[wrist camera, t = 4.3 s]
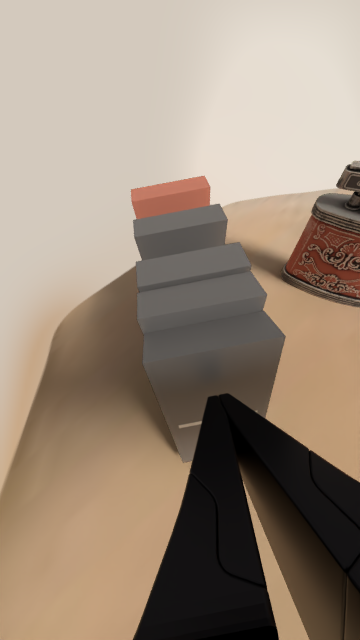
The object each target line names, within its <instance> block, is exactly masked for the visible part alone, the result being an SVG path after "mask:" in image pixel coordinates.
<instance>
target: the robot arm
mask: <svg viewBox="0 0 360 640" xmlns="http://www.w3.org/2000/svg"><path fill="white" fill-rule="evenodd" d="M242 479H243V480H242ZM243 481H244V484H245V486H246V489H247V491H248V493H249V496H250V498H251V501H252V503H253V505H254V508H255V510H256V512H257V515H258V517H259V520H260V522H261V524H262V527H263V529H264V532H265V534H266V536H267V539H268V541H269V544H270V546H271V548H272V551H273V553H274V556H275V558H276V560H277V563H278V565H279V568H280V570H281V572H282V575H283V577H284V580H285V582H286V584H287V587H288V589H289V591H290V594H291V596H292V599H293V601H294V603H295V606H296V608H297V611H298V613H299V615H300V618H301V620H302V623H303V625H304V627H305V630H306V632H307V635H308V637H309V639H310V640H360V482H358V481H357V480H355V479H353V478H352V477H350V476H349V475H347V474H346V473H344V472H342V471H341V470H339V469H338V468H336V467H335V466H333V465H332V464H330V463H329V462H327V461H326V460H324V459H323V458H322V457H320V456H319V455H317V454H316V453H314V452H313V451H311V450H310V451H309V449H308V448H307V447H306V446H304V445H303V444H301V443H300V442H298V441H297V440H295V439H294V438H293V437H291V436H290V435H288V434H287V433H285V432H284V431H283V430H281V429H280V428H278V427H277V426H275V425H274V424H272V423H271V422H270V421H268V420H267V419H265V418H264V417H262V416H261V415H259V414H258V413H257V412H255V411H254V410H252V409H251V408H249V407H248V406H247V405H245V404H244V403H242V402H241V401H239V400H238V399H236V398H235V397H234V396H232V395H231V394H229V393H224V394H220V395H219V396H217V395H214V396H209V397H208V398H207V402H206V406H205V410H204V414H203V418H202V423H201V427H200V431H199V435H198V439H197V444H196V448H195V452H194V456H193V460H192V464H191V469H190V474H189V476H188V481H187V485H186V489H185V492H184V496H183V500H182V503H181V507H180V510H179V513H178V516H177V519H176V522H175V525H174V529H173V532H172V535H171V537H170V540H169V543H168V546H167V548H166V551H165V554H164V557H163V559H162V562H161V565H160V568H159V571H158V573H157V576H156V579H155V582H154V584H153V587H152V590H151V593H150V596H149V598H148V601H147V604H146V607H145V609H144V612H143V615H142V617H141V620H140V623H139V625H138V628H137V631H136V633H135V635H134V638H133V640H279V638H278V631H277V627H276V623H275V619H274V615H273V611H272V607H271V602H270V598H269V594H268V591H267V585H266V581H265V576H264V572H263V567H262V563H261V559H260V554H259V550H258V546H257V541H256V537H255V533H254V528H253V524H252V520H251V515H250V511H249V507H248V502H247V498H246V493H245V489H244V485H243Z"/></svg>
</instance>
